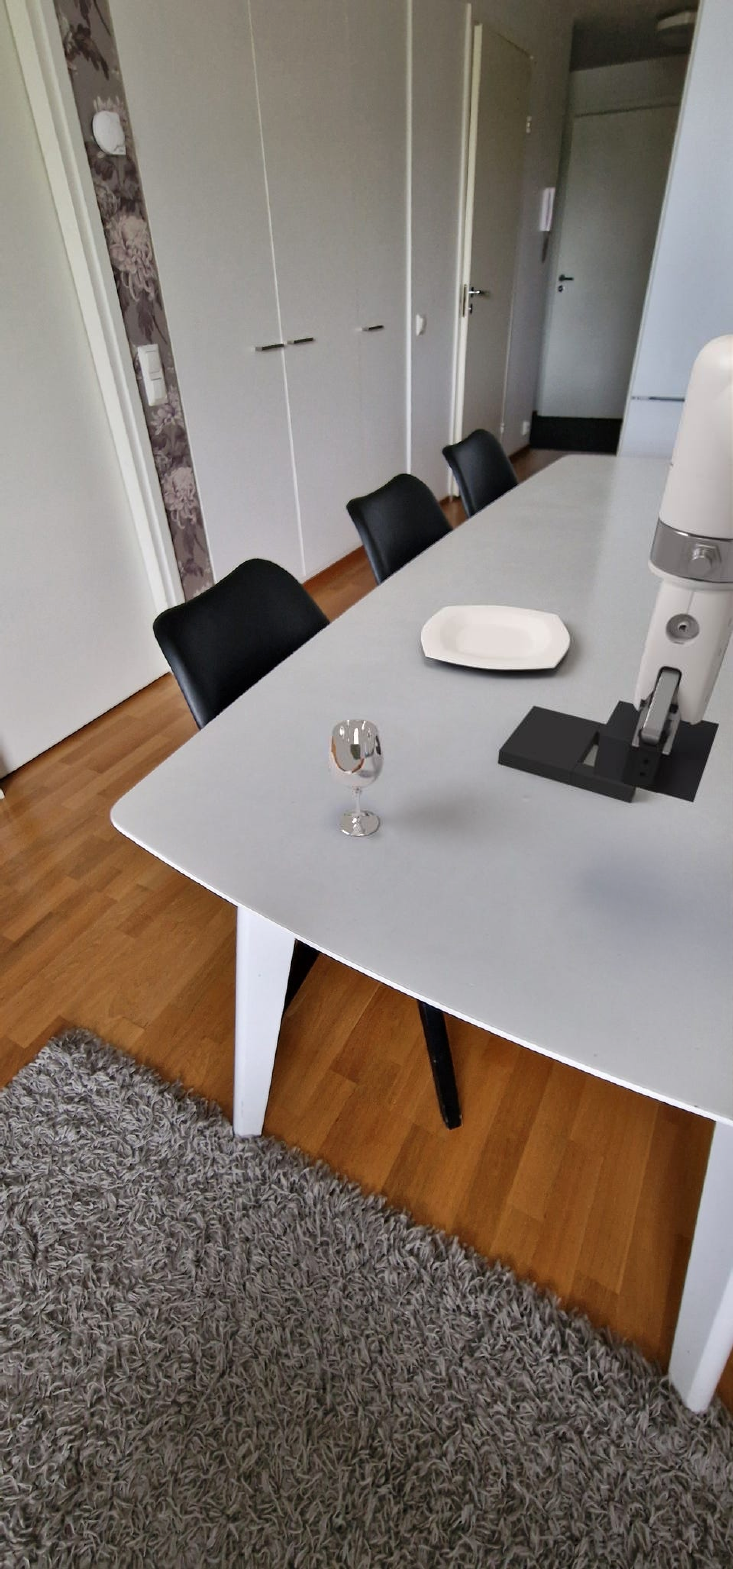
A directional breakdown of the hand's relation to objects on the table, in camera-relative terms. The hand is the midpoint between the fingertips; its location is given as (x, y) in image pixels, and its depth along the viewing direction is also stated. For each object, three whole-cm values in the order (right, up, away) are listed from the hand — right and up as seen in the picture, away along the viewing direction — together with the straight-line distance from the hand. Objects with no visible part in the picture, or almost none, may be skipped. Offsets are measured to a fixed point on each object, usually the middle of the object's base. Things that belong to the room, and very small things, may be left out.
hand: (651, 763), depth 58 cm
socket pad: (+2, +2, +28) cm, 28 cm away
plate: (-3, +20, +53) cm, 57 cm away
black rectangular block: (0, 0, 0) cm, 1 cm away
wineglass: (-25, -6, +19) cm, 32 cm away
